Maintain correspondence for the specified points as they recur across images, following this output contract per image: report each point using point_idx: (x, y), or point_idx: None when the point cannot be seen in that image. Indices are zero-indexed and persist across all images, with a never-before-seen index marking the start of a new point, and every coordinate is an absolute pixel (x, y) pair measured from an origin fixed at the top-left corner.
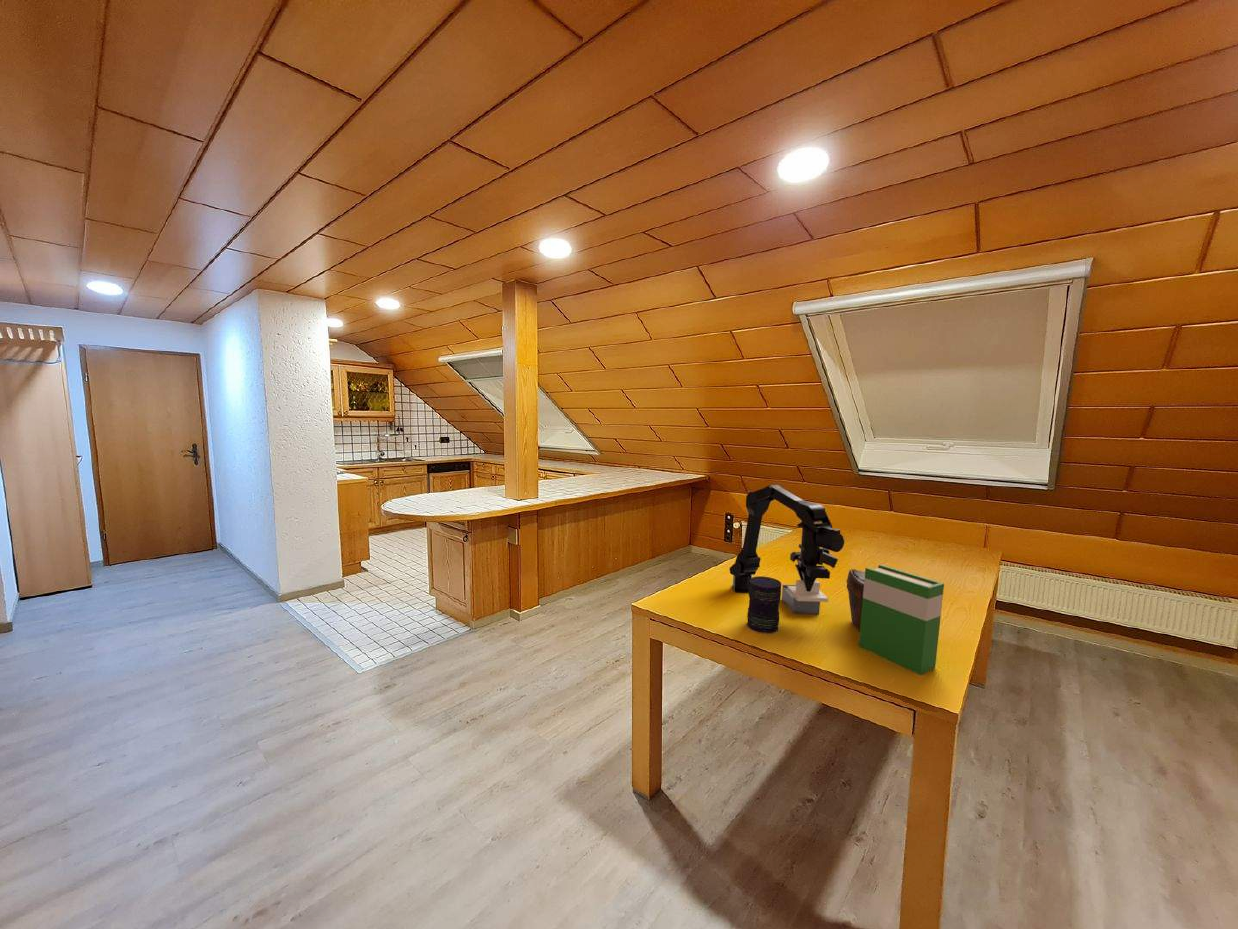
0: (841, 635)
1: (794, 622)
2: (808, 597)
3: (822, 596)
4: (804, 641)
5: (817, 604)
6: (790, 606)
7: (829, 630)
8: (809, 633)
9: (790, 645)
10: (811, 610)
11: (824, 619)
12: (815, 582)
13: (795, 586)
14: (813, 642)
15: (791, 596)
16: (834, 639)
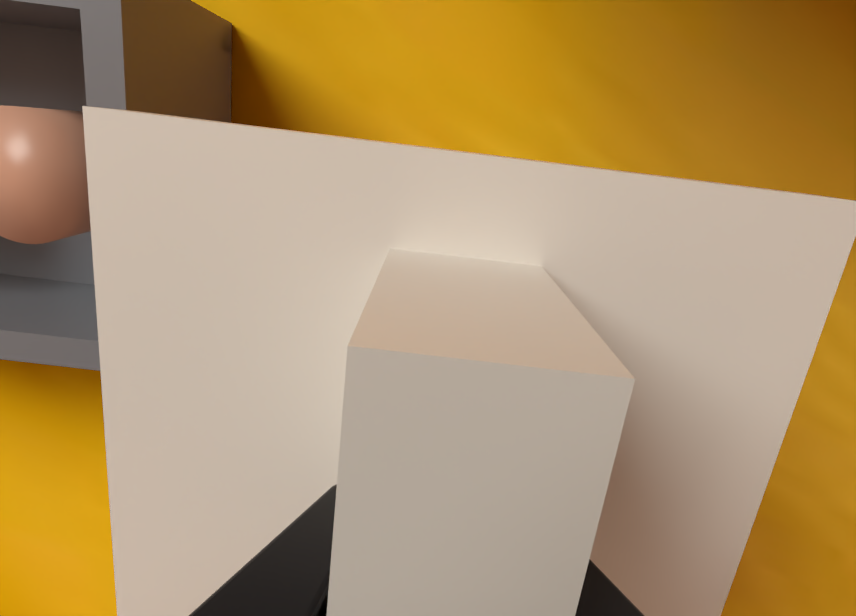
0: (762, 61)
1: None
2: (721, 594)
3: (732, 287)
4: (781, 469)
5: (177, 32)
6: None
7: (633, 132)
8: None
9: (811, 589)
10: (214, 120)
11: (368, 33)
12: (545, 533)
13: (127, 570)
14: (817, 409)
15: (51, 362)
16: (819, 191)
